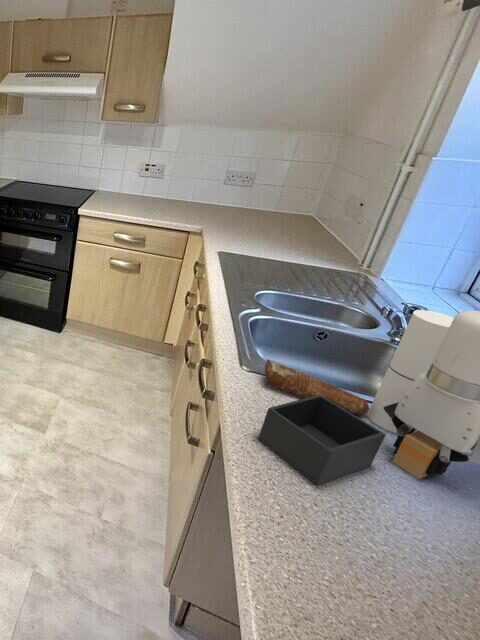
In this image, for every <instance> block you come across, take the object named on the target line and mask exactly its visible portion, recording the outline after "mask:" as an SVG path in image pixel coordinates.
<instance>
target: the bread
mask: <svg viewBox="0 0 480 640" xmlns="http://www.w3.org/2000/svg"><path fill="white" fill-rule="evenodd" d="M264 376H265V380H264V381H265V383H266V384H268V385H270V386H271V387H274V388H276V389H279V390H281V391H285V392H287V393H291V394H294V395H297V396H300V397H303V398H308V397H312V396H316V395H322V396H323V397H325V398H327V399H328V400H330V401H332V402H333V403H335V404H337V405H338V406H340V407H342V408H343V409H345V410H347V411H348V412H350V413H352V414H356V415H366V414H368V411H369V409H370V407H369V406H370V405H369V402H367V400H366V399H365V398H363V397H361V396H357V395H355V394H353V393H350V392H348V391H346V390H344V389H341V388H339V387H337V386H334V385H331V384H329V383H328V382H325V381H322V380H320V379H318V378H316V377H314V376H311V375H309V374H306V373H304V372H301V371H299V370H297V369H294V368H292V367H289V366H286V365H285V364H281V363H279V362H276V361H273V360H271V359H268V358H267V359H266V362H265V365H264Z"/></svg>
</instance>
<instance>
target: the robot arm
mask: <svg viewBox="0 0 480 640" xmlns="http://www.w3.org/2000/svg"><path fill="white" fill-rule="evenodd" d="M383 409H384V410H385V412H386V413H387V414H388V415H389V417H391V418H392V422H393V424H394V425H395V427H396V429H397V431H396V433H395V434H397V437H396V439H395V442H394V443H393V447H394V451H393V452H392V453H393V454H394V456H395V455H396V453H397V451H398V449H399V447H400V445H401V443H402V441H403V439H404V437H405V435H408V434H411V433H414V432H417V431H420V432H422V433H424V434H426V435H427V436H429V437H431V438H433V439H435V440H436V441H438V442H440V443H442V444H441V449H440V454H439V455H438V456H436V457H434V458H433V460H432V462H431V464H430V465H429V467H428V469H427V470H426V472H425V473H426V474H427V475H428V476H427V477H433V476H434V475H437V474H438V475H439V476H441V475H444V474H445V473H446V472H447V470H448V468H449V466H450V465H451V463H469V464H475V465H480V310H474V309H473V310H472V309H471V310H468V309H467V310H463V311H460V312H458V313H457V314H456V315H455V316H454V319H453V321H452V323H451V325H450V327H449V329H448V331H447V333H446V335H445V337H444V339H443V341H442V343H441V345H440V347H439V349H438V351H437V353H436V355H435V357H434V359H433V361H432V363H431V365H430V367H429V369H428V372H424V373H422V374H421V375H420V376H419V377H418V378H417V379H416V380H415V381H414V382H413V383H412V384H411V386H410V387H409V388H408V389H407V391H406V392H405V394H404V395H403V397H402V398H401V400H400V401H399V402H397V403H394V404H391V405H388V406H384V407H383ZM469 451H471V453H469Z"/></svg>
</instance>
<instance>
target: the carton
mask: <svg viewBox="0 0 480 640" xmlns="http://www.w3.org/2000/svg"><path fill="white" fill-rule="evenodd" d="M441 444H442V443H440V442H438V441H436V440H435V439H433V438H431V437H429V436H427V435H426V434H424V433H422V432H420V431H419V430H416V431H415V432H414V433H411V434H408V435H405V437H404V439H403V441H402V443H401V445H400V447H399V449H398V451H397V453H396V455H395V454H394V457H393V458H392V463H393V464H394V465H396V466H398V467H399V468H400V469H402V470H404V471H406V472H407V473H408V474H410V475H411V476H413V477H414V478H416V479H418V480H420V479H423V478H425V477H429V476H428V475H427V474H426V473H425V472H426V470H427V469H428V467H429V465H430V464H431V462H432V460H433V458H434V457H436V456H438V455H439V454H440V449H441Z"/></svg>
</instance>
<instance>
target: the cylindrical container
mask: <svg viewBox="0 0 480 640" xmlns="http://www.w3.org/2000/svg"><path fill="white" fill-rule="evenodd" d="M454 318H455V316H454V317H453V316H451V315H448V314H444V313H441V312H438V311H437V312H436V311H431V310H424V309H417V310H416V309H415V310H414V311H413V312H412V314H411V317H410V318H409V321H408V323H407V326H406V327H405V330H404V332H403V334H402V336H401V339H400V340H399V343H398V345H397V348H396V350H395V351H394V354H393V356H392V359H391V361H390V363H389V365H388V367H387V369H386V371H385V373H384V376H383V378H382V381H381V383H380V385H379V387H378V389H377V391H376V394H375V396H374V398H373V401H372V403H371V404H370V407H369V410H368V412H367V417H368V418H369V420H370V421H371V422H372V423H374V424H376V425H377V426H379V427H380V428H382V429H384V430H386V431H388V432H391V433H394V434H397V433H396V431H397V429H396V427H395V425H394V424H393V422H392V418H391V417H389V415H388V414H387V413H386V412H385V410H384V409H383V407H384V406H388V405H391V404H394V403H397V402H399V401H400V400H401V398H402V397H403V395H404V394H405V392H406V391H407V389H408V388H409V387H410V386H411V384H412V383H413V382H414V381H415V380H416V379H417V378H418V377H419V376H420V375H421V374H422V373H424V372H428V369H429V367H430V365H431V363H432V361H433V359H434V357H435V355H436V353H437V351H438V349H439V347H440V345H441V343H442V341H443V339H444V337H445V335H446V333H447V331H448V329H449V327H450V325H451V323H452V321H453V319H454Z"/></svg>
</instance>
